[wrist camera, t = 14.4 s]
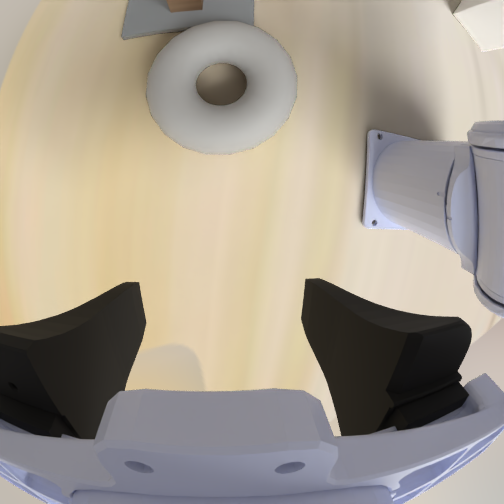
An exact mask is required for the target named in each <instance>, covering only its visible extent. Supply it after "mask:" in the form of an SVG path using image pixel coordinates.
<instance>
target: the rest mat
mask: <svg viewBox="0 0 504 504" xmlns="http://www.w3.org/2000/svg"><path fill="white" fill-rule="evenodd" d="M212 21H238V22H242V23H245V24H248V25H252V26H254V0H203V10H195V11H183V12H173V13H171V12H170V9H169V6H168V4H167V1H166V0H129V3H128V7H127V11H126V16H125V21H124V26H123V31H122V38H123V40H126V39H130V38H136V37H141V36H147V35H153V34H161V33H169V32H178V31H186V30H187V29H189V28H191V27H193V26H196V25H200V24H204V23H208V22H212Z"/></svg>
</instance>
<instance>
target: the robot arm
mask: <svg viewBox="0 0 504 504" xmlns="http://www.w3.org/2000/svg"><path fill="white" fill-rule="evenodd" d="M378 134H379V135H380V139H378ZM467 137H468V142H463V141H422V140H418V139H414V138H410V137H406V136H402V135H398V134H394V133H389V132H384V131H380V130H370V131H369V132H368V135H367V168H366V185H365V198H364V210H363V220H362V224H363V226H364V227H365V228H368V229H403V230H410V231H413V232H415V233H417V234H419V235H421V236H423V237H425V238H427V239H429V240H431V241H433V242H435V243H437V244H439V245H441V246H443V247H445V248H447V249H449V250H451V251H453V252H455V253H457V254H459V255H460V258H461V265H462V268H463V269H465V270H467V271H468V272H470V273H472V274H473V275H474V280H473V287H474V291H475V294H476V296H477V298H478V299H479V301H480V302H481V303H482V304H483V305H484V306H485V307H486V308H487V309H489V310H490V311H491V312H493V313H494V314H496V315H498V316H500V317H502V318H504V121H481V122H475V123H474V124H473V126H472V128H471V130H469V131H468V132H467ZM373 220H375V223H374V224H373V225H372V221H373ZM301 320H302V324H303V327H304V331H305V334H306V337H307V339H308V341H309V344H310V346H311V348H312V350H313V352H314V354H315V356H316V358H317V360H318V363H319V365H320V367H321V369H322V371H323V373H324V376H325V378H326V381H327V384H328V387H329V390H330V393H331V397H332V400H333V404H334V407H335V411H336V415H337V419H338V423H339V427H340V431H341V436H337V437H334V435H333V432H332V430H331V427H330V425H329V422H328V419H327V417H326V414H325V411H324V409H323V406H322V404H321V401H320V400H319V399H317V398H315V397H314V396H312V395H310V394H309V393H307V392H305V391H303V390H289V389H276V388H272V389H259V390H242V391H171V390H156V389H140V390H129V391H125V387H126V383H127V380H128V376H129V373H130V371H131V368H132V366H133V363H134V361H135V358H136V355H137V353H138V350H139V348H140V345H141V342H142V339H143V335H144V331H145V326H146V318H145V313H144V308H143V303H142V297H141V291H140V285H139V282H125V283H122V284H120V285H118V286H116V287H114V288H112V289H110V290H109V291H107V292H105V293H103V294H101V295H100V296H98V297H96V298H94V299H92V300H90V301H88V302H86V303H84V304H82V305H81V306H78V307H76V308H74V309H72V310H69V311H67V312H64V313H62V314H59V315H56V316H53V317H50V318H46V319H43V320H39V321H35V322H30V323H25V324H19V325H10V326H0V476H1V477H3V478H4V479H6V480H7V481H9V482H10V483H12V484H13V485H15V486H17V487H19V488H20V489H22V490H23V491H25V492H27V493H28V494H30V495H32V496H34V497H35V498H37V499H39V500H41V501H43V502H45V503H47V504H404V503H405V502H407V501H409V500H411V499H413V498H415V497H417V496H418V495H420V494H422V493H424V492H426V491H427V490H429V489H431V488H432V487H434V486H435V485H437V484H438V483H440V482H442V481H443V480H445V479H446V478H448V477H449V476H451V475H452V474H454V473H455V472H457V471H458V470H460V469H461V468H463V467H464V466H465V465H467V464H468V463H470V462H471V461H472V460H474V459H475V458H476V457H478V456H479V455H480V454H482V453H483V452H484V451H485V450H486V449H487V448H488V447H489V446H490V445H491V443H493V441H494V440H495V439H496V438H497V437H498V436H499V435H500V434H501V432H502V431H503V430H504V392H503V391H502V390H501V389H500V388H499V387H498V386H497V385H496V384H495V382H494V381H493V380H492V379H491V378H490V377H489V376H488V375H487V374H486V373H484V374H482V375H480V376H478V377H477V378H475V379H473V380H471V381H469V382H468V383H467V384H466V385H465V386H464V387H462V385H461V384H460V383H459V381H461V379H462V376H461V375H460V374H459V373H458V369H459V367H460V365H461V363H462V361H463V359H464V357H465V355H466V353H467V351H468V348H469V346H470V343H471V337H472V333H471V328H470V326H469V325H468V324H467V323H466V322H465V321H463V320H462V319H461V318H459V317H441V316H427V315H419V314H413V313H408V312H403V311H399V310H395V309H391V308H388V307H384V306H381V305H378V304H375V303H373V302H370V301H368V300H365V299H363V298H361V297H358V296H356V295H354V294H352V293H350V292H348V291H346V290H344V289H342V288H340V287H338V286H336V285H334V284H332V283H329V282H327V281H325V280H323V279H319V278H315V279H305V289H304V299H303V308H302V316H301Z"/></svg>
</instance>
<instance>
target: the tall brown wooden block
mask: <svg viewBox="0 0 504 504" xmlns="http://www.w3.org/2000/svg"><path fill="white" fill-rule="evenodd" d="M166 1H167V4H168V6H169V9H170V12H171V13H173V12H183V11H195V10H203V0H166Z"/></svg>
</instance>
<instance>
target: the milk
mask: <svg viewBox="0 0 504 504" xmlns="http://www.w3.org/2000/svg"><path fill="white" fill-rule="evenodd" d="M453 15H454V16H455V18H456V19H457V20H458V21H459V22H460V24H461V25H462V26H463V27H464V28H465V30H466V31H467V32H468V34H469V35H470V36H471V37H472V39H473V40H474V41H475V43H476V44H477V46H478V47H479V48H480V50H481V51H482V52H486V51H490V50H496V49H501V48H504V0H462V1H461V3H460V4H459V6H458V7H457V9H456V10H455V12H454V13H453Z"/></svg>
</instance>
